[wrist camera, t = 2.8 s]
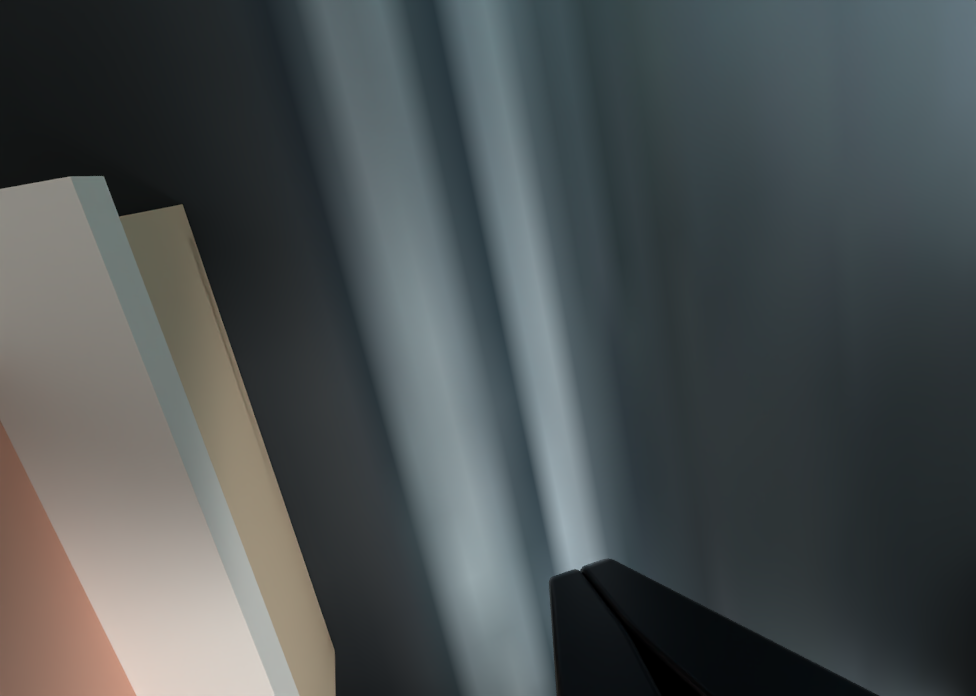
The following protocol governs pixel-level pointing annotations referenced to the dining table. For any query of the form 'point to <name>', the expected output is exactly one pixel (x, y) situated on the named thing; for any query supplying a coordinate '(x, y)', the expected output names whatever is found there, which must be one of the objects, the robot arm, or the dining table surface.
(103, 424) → the lid
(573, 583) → the robot arm
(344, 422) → the dining table surface
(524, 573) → the dining table surface
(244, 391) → the beige open tray
